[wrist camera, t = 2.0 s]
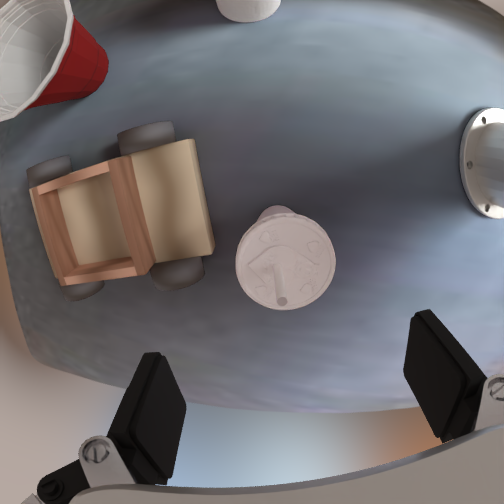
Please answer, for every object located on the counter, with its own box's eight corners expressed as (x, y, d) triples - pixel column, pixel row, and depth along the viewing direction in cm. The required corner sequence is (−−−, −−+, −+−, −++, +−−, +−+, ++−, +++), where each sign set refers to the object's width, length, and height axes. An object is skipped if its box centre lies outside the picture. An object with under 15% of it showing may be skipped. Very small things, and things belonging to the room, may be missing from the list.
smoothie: (245, 187, 27) (230, 234, 14) (316, 193, 27) (368, 245, 14) (240, 255, 29) (225, 348, 16) (307, 260, 29) (341, 354, 16)
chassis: (190, 119, 25) (174, 115, 20) (219, 262, 29) (211, 288, 24) (38, 169, 26) (7, 177, 21) (71, 283, 31) (47, 306, 26)
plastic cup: (141, 102, 24) (68, 84, 13) (52, 136, 25) (-31, 146, 14) (130, 8, 20) (69, -43, 9) (45, 48, 21) (-30, 30, 10)
